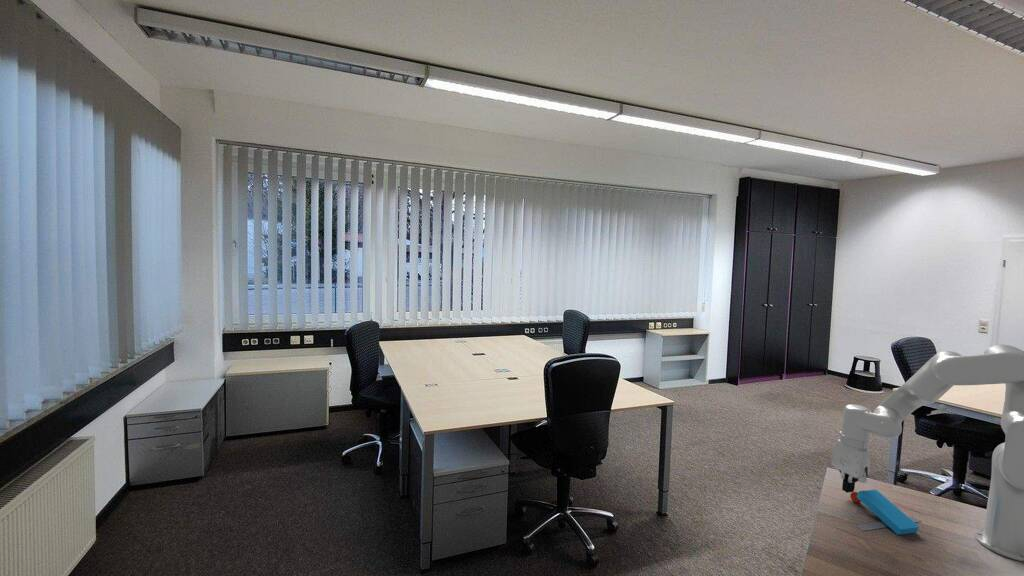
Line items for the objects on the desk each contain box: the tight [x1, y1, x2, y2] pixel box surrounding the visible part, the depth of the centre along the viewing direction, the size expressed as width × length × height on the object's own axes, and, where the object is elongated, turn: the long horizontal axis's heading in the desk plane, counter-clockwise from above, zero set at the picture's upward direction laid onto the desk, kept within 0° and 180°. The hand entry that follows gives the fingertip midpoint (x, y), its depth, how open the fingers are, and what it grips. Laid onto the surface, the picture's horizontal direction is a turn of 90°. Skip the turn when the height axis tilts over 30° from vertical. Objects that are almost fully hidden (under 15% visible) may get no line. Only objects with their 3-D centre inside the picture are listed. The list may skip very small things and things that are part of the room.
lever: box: [849, 489, 920, 536], centre depth 141 cm, size 7×7×18 cm
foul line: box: [855, 516, 922, 532], centre depth 137 cm, size 23×2×1 cm, turn 102°
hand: (847, 490), depth 151 cm, fingers closed
